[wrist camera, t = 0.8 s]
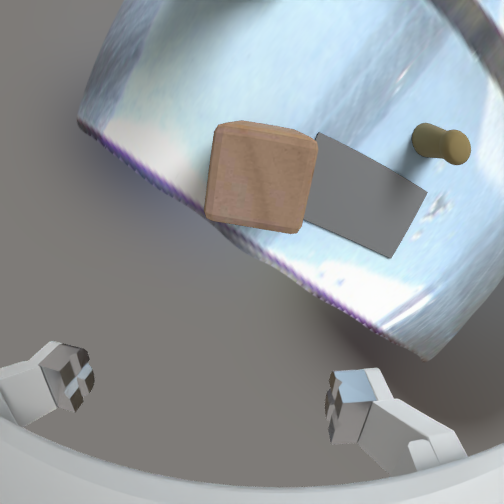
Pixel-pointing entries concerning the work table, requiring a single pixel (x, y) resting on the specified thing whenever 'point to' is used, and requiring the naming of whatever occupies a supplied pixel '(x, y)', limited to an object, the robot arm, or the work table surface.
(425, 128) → the cork
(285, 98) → the work table surface
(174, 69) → the work table surface
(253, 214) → the wooden block
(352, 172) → the mat
